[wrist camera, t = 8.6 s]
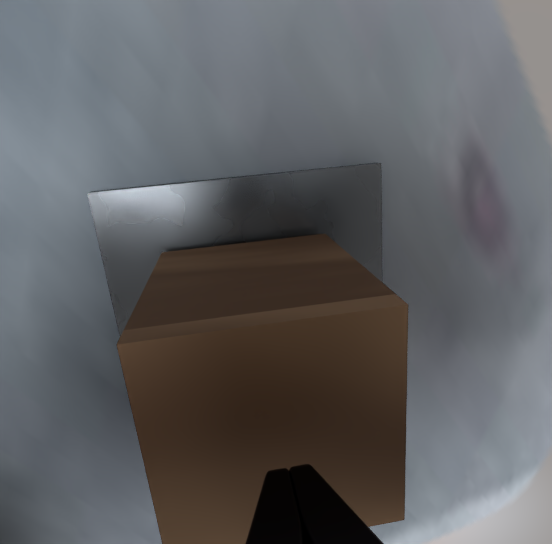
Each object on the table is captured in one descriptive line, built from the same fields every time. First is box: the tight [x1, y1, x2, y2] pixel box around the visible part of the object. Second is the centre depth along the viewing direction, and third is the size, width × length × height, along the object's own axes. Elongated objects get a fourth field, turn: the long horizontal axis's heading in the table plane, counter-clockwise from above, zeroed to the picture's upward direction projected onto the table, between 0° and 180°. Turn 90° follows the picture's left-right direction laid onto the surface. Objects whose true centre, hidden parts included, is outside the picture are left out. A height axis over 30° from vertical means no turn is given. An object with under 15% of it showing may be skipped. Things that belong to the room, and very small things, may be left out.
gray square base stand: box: [87, 163, 382, 336], centre depth 13 cm, size 10×10×7 cm
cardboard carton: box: [117, 234, 408, 544], centre depth 12 cm, size 6×6×7 cm
